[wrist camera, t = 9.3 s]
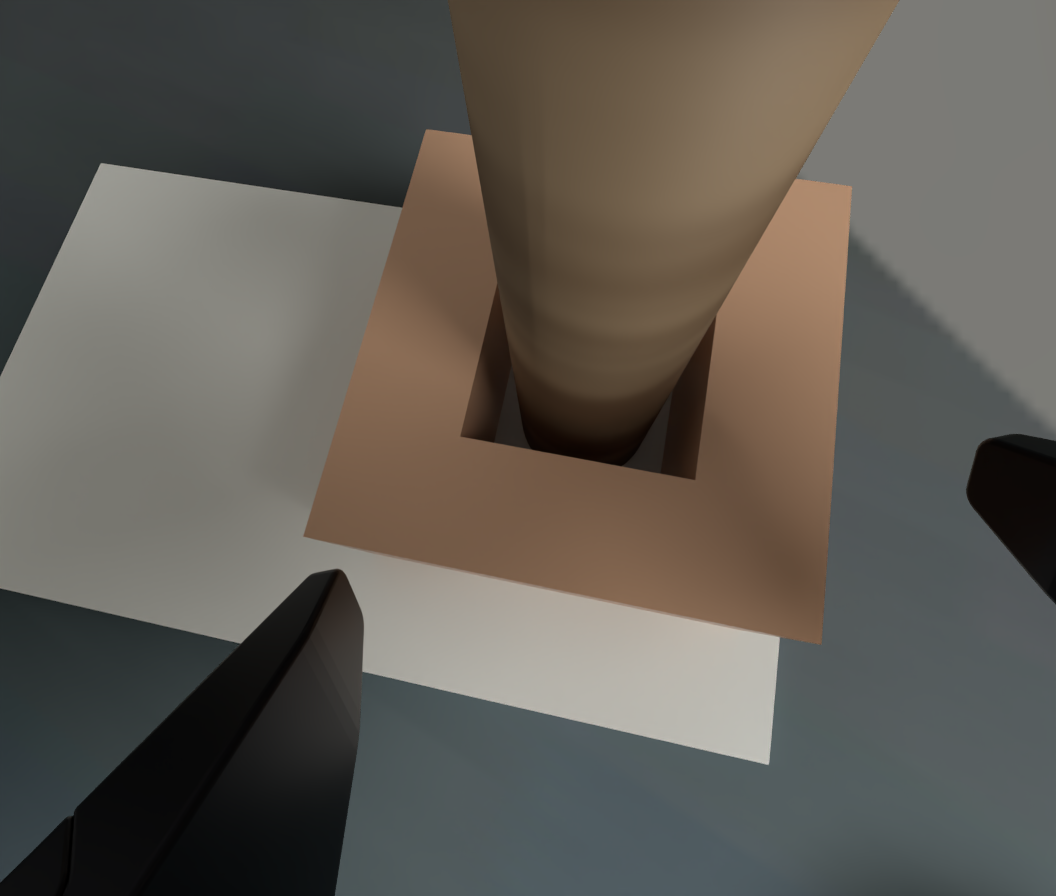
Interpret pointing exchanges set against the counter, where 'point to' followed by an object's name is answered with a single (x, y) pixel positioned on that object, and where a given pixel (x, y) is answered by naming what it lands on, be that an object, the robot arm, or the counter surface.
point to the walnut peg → (636, 181)
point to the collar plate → (241, 453)
